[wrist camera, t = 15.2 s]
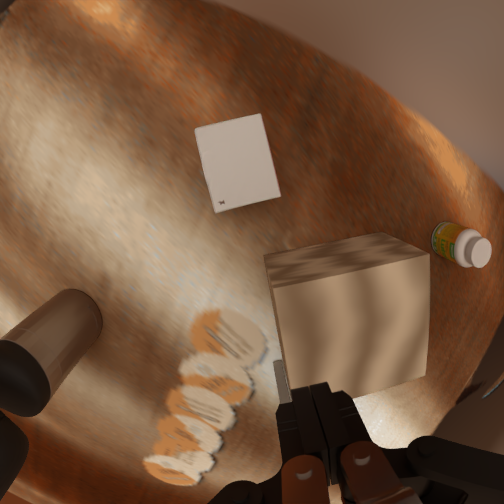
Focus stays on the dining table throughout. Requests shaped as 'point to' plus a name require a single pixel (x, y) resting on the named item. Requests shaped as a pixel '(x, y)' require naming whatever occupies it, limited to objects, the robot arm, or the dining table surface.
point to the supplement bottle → (461, 245)
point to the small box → (237, 162)
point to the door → (281, 383)
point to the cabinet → (352, 312)
